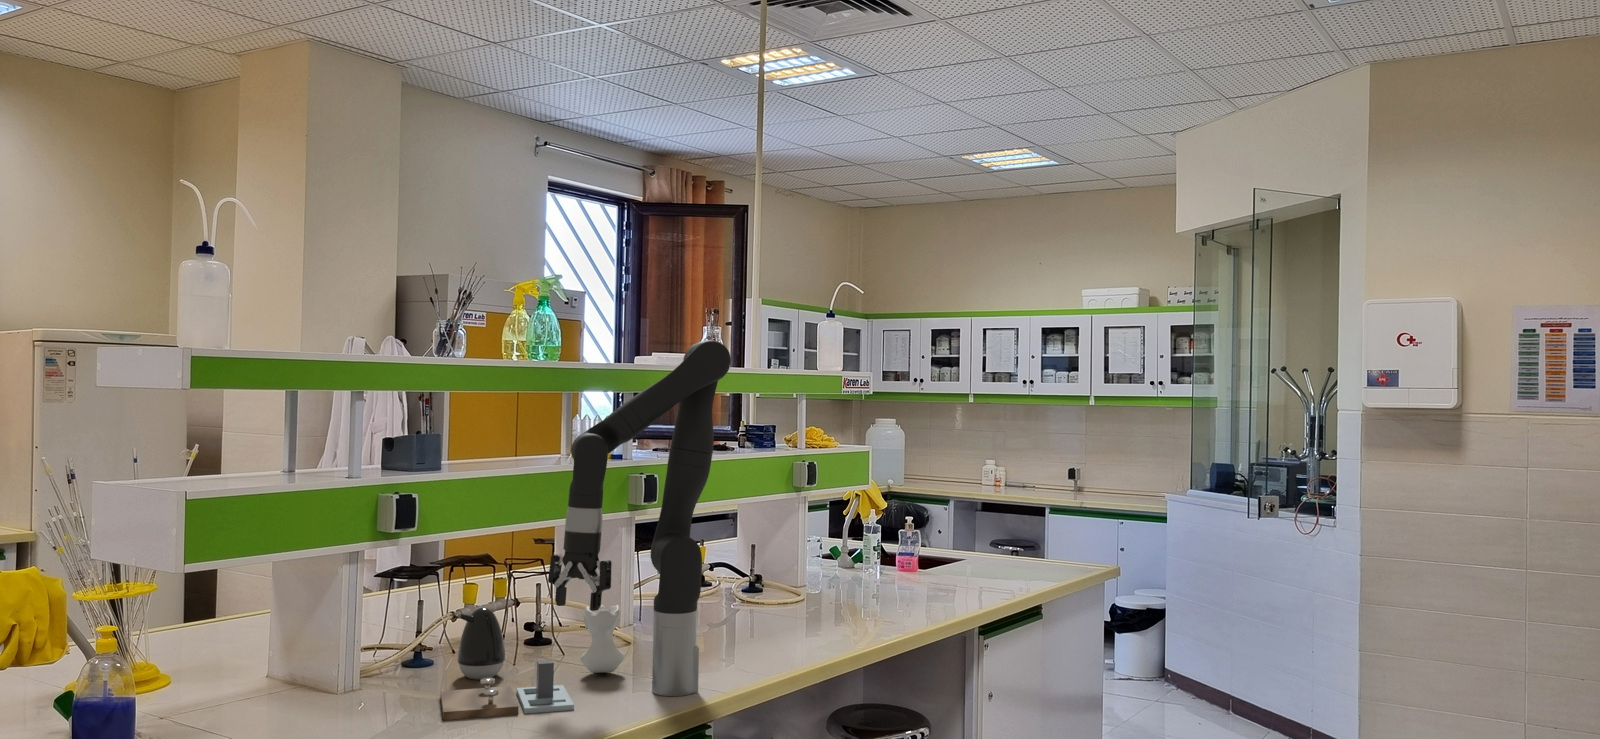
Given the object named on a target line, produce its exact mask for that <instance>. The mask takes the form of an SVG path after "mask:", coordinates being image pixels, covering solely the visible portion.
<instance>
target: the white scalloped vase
mask: <svg viewBox="0 0 1600 739" xmlns="http://www.w3.org/2000/svg"><path fill="white" fill-rule="evenodd" d="M621 614H622V610H621V607H620V606H619V605H618V604H616V605H611V606H610V610H608V609H606V606H605V605H602V604H601V606H600V608H599V609H598V610H596V611H595V612H594V611H591V610H590V605H589V606H586V607H585V608H584V611H583V614H582V615H583V616H582V617H583V624H584V628H585V629H587V632H588V633H589V635H590V636H591V642H590V643H591V644H590V645H589V647H588V649H587V650H586V651H585V652H584V653H583V654H581V656H580V661H581V662H580V663H581V664H582V665H583V666H584V667H585V668H586V669H587V670H588V671H589V672H590V673H593V674H595V673H596V674H597V673H600V674H601V673H602V674H603V673H613V672H615V671H616V670H617V669H618V667H620V665H621V664H622V663H623V661H624V660H625V654H624V653H623V652H622V651H621V650H620V649H619V648H617V646H616V644H615V641H614V638H613V637H614V632H615V630H616V627H618V626H619V624H620V622H621V621H620V620H621Z"/></svg>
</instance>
